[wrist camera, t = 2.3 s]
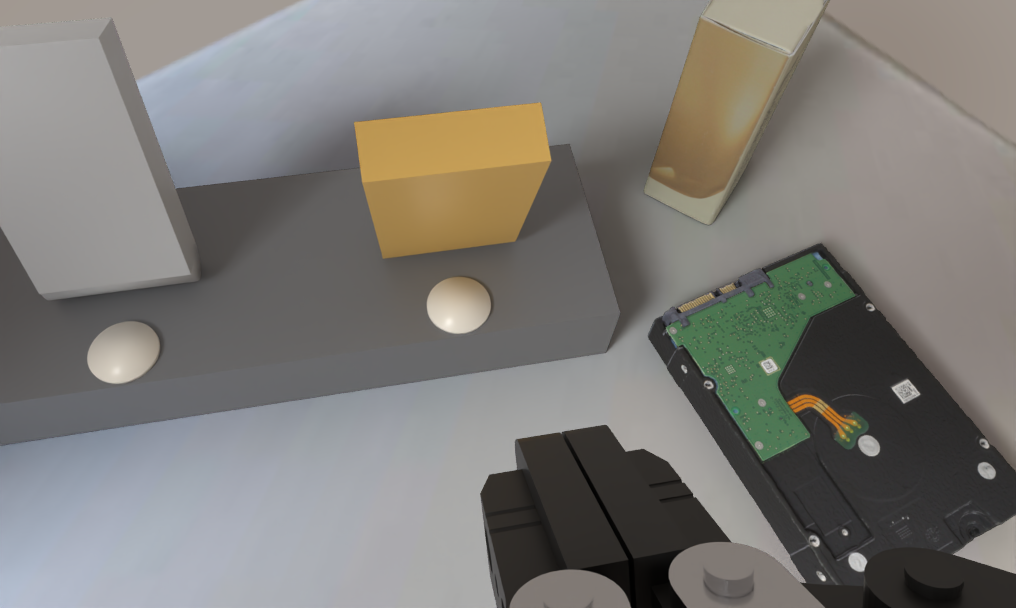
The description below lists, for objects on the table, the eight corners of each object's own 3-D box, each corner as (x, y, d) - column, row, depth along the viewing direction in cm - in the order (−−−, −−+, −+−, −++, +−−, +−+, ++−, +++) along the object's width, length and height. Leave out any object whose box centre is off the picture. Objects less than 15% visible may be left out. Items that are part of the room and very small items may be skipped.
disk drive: (1001, 514, 33) (799, 265, 39) (1044, 498, 31) (822, 236, 37) (826, 625, 30) (639, 340, 36) (858, 618, 28) (652, 313, 34)
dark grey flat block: (-7, 446, 32) (-68, 411, 28) (24, 259, 37) (-25, 208, 33) (605, 352, 36) (621, 311, 32) (561, 193, 40) (570, 141, 37)
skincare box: (685, 126, 43) (755, -66, 33) (753, 157, 42) (847, -31, 32) (637, 197, 40) (696, 12, 30) (708, 232, 39) (795, 53, 29)
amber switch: (384, 263, 33) (362, 182, 22) (378, 221, 33) (354, 122, 23) (513, 246, 34) (551, 160, 23) (506, 205, 34) (541, 102, 23)
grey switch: (48, 310, 30) (-99, 54, 23) (61, 281, 32) (-73, 32, 25) (197, 291, 31) (98, 37, 24) (203, 263, 33) (111, 17, 25)
